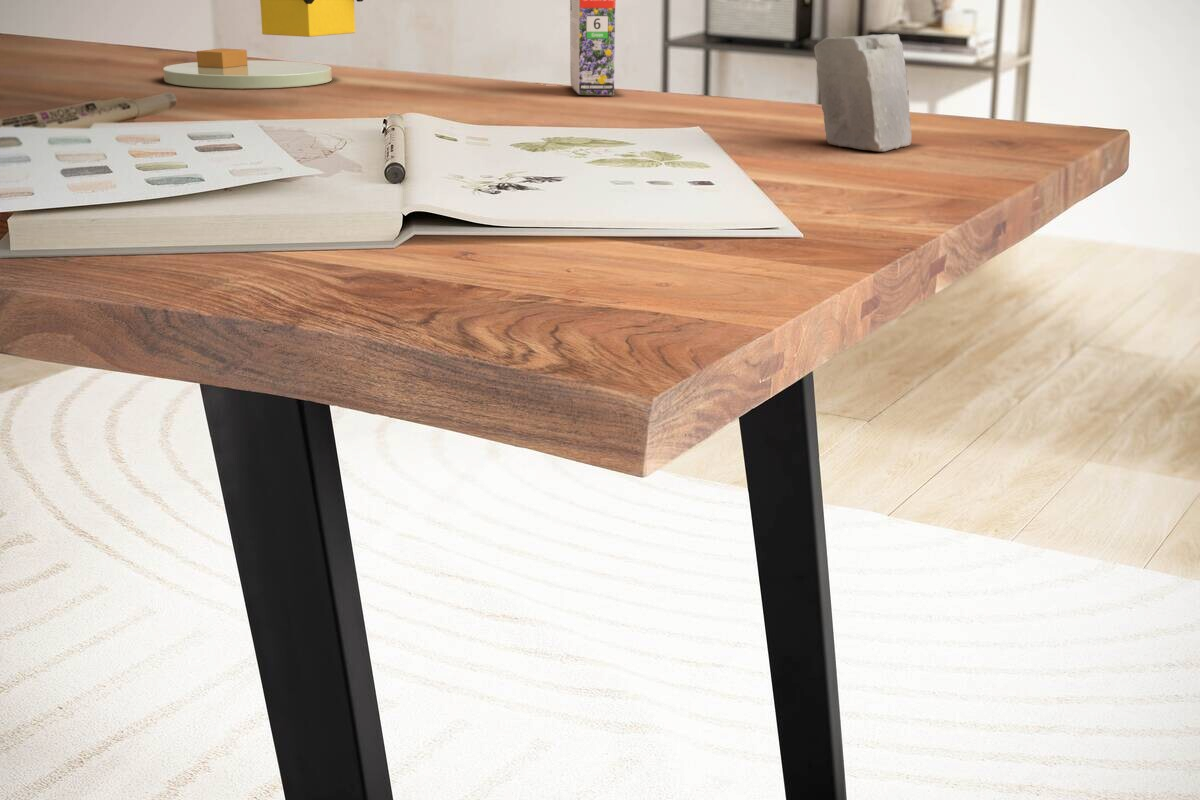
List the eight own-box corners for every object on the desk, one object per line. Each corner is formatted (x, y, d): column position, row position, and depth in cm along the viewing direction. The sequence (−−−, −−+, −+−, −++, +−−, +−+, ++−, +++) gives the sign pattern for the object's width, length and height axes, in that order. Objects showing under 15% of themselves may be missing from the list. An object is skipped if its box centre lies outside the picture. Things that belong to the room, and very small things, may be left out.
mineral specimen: (924, 129, 95) (933, 21, 91) (890, 170, 89) (898, 55, 85) (829, 118, 98) (834, 13, 94) (789, 157, 92) (793, 45, 88)
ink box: (605, 87, 126) (608, -71, 121) (616, 96, 118) (619, -72, 114) (568, 87, 125) (569, -72, 120) (576, 96, 118) (578, -73, 113)
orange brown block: (197, 66, 125) (196, 51, 125) (222, 63, 129) (221, 48, 128) (223, 68, 124) (221, 52, 124) (247, 65, 128) (246, 49, 127)
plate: (131, 84, 120) (130, 71, 119) (212, 70, 135) (211, 58, 134) (292, 91, 117) (291, 78, 117) (355, 75, 132) (355, 63, 132)
